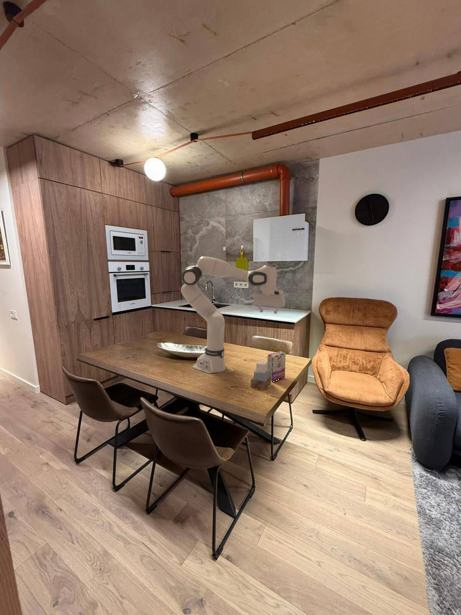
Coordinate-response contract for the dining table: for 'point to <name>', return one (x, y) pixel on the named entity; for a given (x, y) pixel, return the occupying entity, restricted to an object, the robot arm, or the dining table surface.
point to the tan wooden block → (260, 383)
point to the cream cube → (261, 366)
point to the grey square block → (261, 376)
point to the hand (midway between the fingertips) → (268, 312)
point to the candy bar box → (276, 365)
